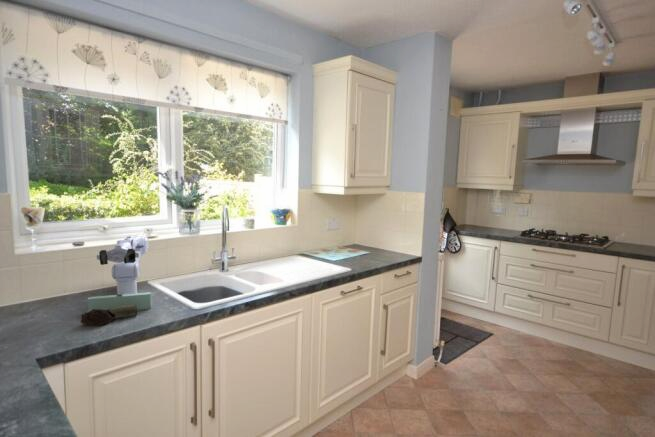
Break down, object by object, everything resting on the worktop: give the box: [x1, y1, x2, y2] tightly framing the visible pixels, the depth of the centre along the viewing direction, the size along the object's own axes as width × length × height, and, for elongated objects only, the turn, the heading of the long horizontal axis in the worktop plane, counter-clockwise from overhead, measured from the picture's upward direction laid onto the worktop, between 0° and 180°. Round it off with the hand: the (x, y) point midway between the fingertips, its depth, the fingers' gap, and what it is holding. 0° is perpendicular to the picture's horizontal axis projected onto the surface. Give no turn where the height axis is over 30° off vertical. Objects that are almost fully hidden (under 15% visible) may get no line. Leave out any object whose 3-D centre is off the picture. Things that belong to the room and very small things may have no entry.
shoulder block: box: [86, 291, 153, 312], centre depth 148 cm, size 3×22×7 cm, turn 108°
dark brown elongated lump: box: [80, 304, 138, 327], centre depth 138 cm, size 18×7×6 cm, turn 129°
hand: (113, 261), depth 139 cm, fingers open, 7 cm apart
